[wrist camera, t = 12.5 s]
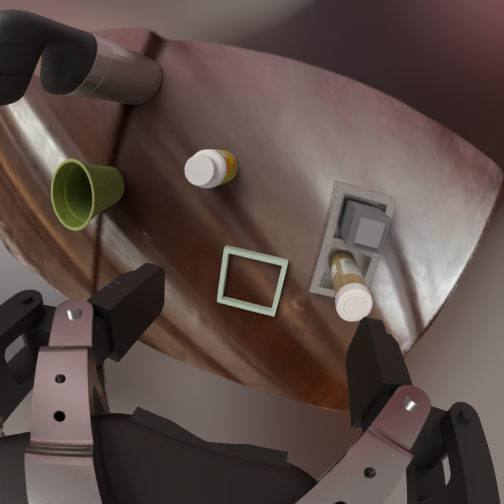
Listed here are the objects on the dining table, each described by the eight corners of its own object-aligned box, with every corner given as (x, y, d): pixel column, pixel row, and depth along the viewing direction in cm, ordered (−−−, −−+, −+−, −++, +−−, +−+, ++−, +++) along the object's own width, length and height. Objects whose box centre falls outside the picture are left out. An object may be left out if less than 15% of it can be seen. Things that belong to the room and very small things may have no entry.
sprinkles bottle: (322, 264, 43) (328, 308, 31) (342, 244, 41) (356, 282, 29) (342, 281, 43) (352, 329, 31) (361, 262, 42) (380, 305, 29)
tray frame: (218, 298, 50) (216, 301, 49) (226, 245, 46) (224, 247, 45) (275, 313, 49) (274, 316, 47) (288, 259, 45) (288, 262, 44)
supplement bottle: (228, 189, 43) (207, 199, 34) (200, 173, 43) (172, 179, 34) (244, 160, 41) (226, 161, 32) (215, 144, 40) (190, 142, 32)
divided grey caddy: (309, 280, 45) (309, 291, 42) (334, 180, 39) (337, 182, 35) (358, 291, 44) (362, 303, 40) (389, 195, 38) (396, 199, 34)
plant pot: (122, 143, 43) (80, 145, 33) (143, 201, 46) (104, 216, 36) (84, 170, 47) (43, 178, 36) (102, 222, 50) (64, 239, 39)
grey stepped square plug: (338, 227, 41) (346, 247, 32) (345, 197, 39) (356, 209, 30) (366, 234, 40) (381, 256, 31) (374, 205, 38) (392, 219, 29)
